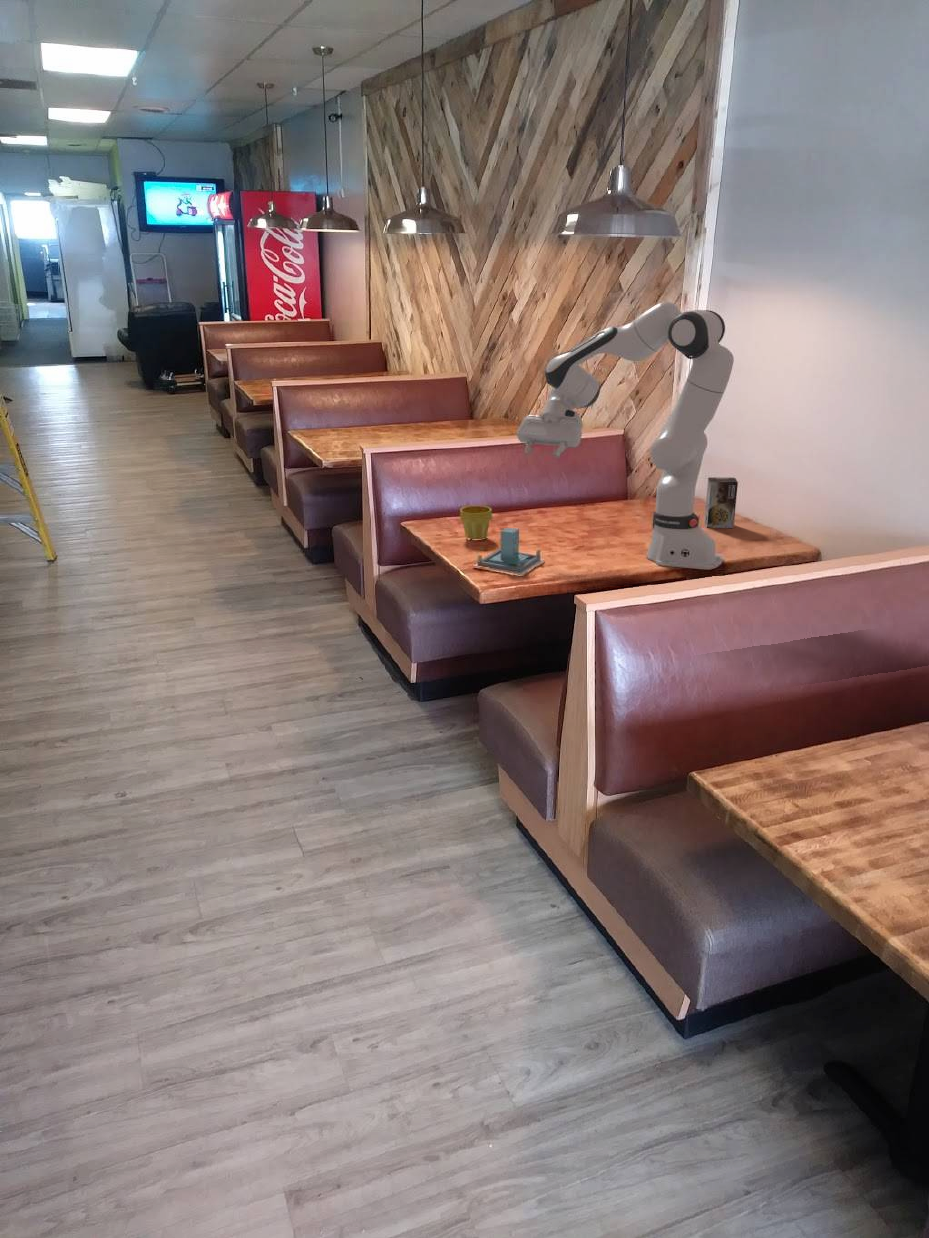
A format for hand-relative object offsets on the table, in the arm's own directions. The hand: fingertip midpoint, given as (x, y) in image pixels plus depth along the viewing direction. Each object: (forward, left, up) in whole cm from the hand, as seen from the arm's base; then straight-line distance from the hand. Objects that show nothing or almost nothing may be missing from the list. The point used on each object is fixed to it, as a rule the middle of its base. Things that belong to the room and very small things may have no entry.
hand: (541, 454), depth 277 cm
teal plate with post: (0, +21, -29) cm, 36 cm away
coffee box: (-44, -51, -30) cm, 73 cm away
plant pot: (+22, +1, -30) cm, 37 cm away
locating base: (0, +21, -29) cm, 36 cm away
